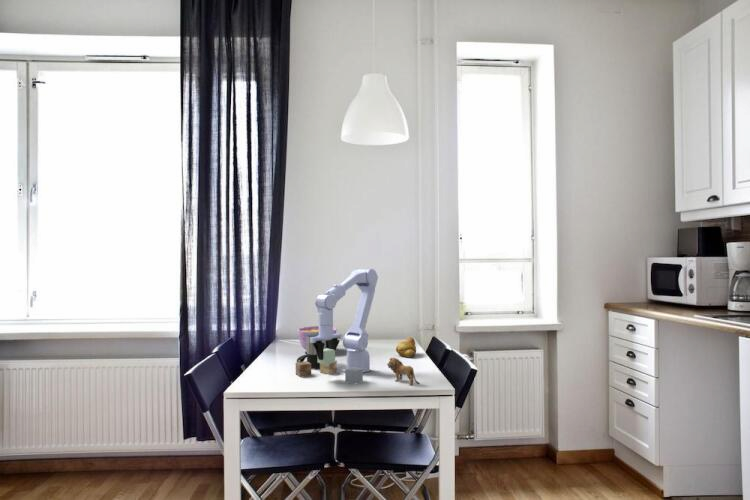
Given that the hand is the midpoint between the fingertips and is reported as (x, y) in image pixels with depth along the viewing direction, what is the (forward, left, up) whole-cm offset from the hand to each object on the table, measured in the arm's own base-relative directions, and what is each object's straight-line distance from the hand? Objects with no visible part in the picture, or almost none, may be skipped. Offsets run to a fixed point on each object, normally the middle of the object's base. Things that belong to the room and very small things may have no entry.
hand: (326, 358), depth 208 cm
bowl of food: (-31, -48, -9) cm, 58 cm away
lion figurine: (-19, +24, -9) cm, 32 cm away
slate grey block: (-6, +10, -8) cm, 14 cm away
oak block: (-8, -9, -8) cm, 15 cm away
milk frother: (-11, -25, -9) cm, 29 cm away
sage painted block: (0, 0, -2) cm, 2 cm away
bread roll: (-56, -9, -9) cm, 57 cm away
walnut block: (+2, -13, -8) cm, 16 cm away
